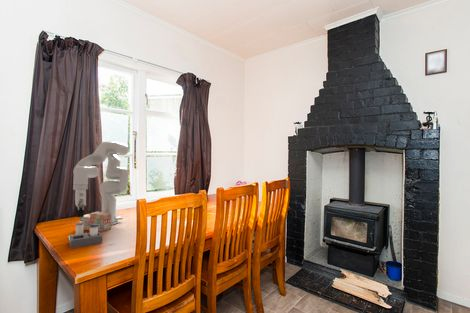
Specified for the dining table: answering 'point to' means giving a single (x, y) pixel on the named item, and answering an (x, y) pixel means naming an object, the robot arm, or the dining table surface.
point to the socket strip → (84, 240)
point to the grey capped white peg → (93, 229)
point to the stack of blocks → (97, 220)
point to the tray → (73, 235)
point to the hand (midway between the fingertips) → (79, 215)
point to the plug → (79, 227)
